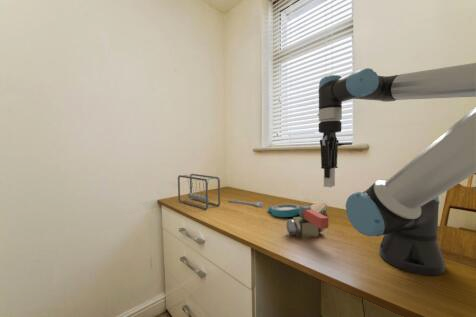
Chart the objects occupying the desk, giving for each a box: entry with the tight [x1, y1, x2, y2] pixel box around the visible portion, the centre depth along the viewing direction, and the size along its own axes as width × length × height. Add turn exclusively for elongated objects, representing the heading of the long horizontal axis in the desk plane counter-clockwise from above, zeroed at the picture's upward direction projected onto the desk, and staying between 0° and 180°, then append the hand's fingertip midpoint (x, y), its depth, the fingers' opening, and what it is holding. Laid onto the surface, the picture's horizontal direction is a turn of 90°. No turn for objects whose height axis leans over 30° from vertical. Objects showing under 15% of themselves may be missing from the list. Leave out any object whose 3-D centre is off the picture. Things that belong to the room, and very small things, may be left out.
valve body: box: [285, 216, 326, 240], centre depth 82 cm, size 13×7×7 cm, turn 103°
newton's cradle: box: [177, 173, 221, 210], centre depth 128 cm, size 30×10×18 cm, turn 48°
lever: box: [299, 205, 329, 230], centre depth 77 cm, size 14×4×4 cm, turn 13°
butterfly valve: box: [267, 201, 328, 218], centre depth 104 cm, size 27×7×30 cm
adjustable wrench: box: [227, 199, 265, 208], centre depth 128 cm, size 25×6×2 cm, turn 56°
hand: (329, 186), depth 75 cm, fingers open, 2 cm apart
